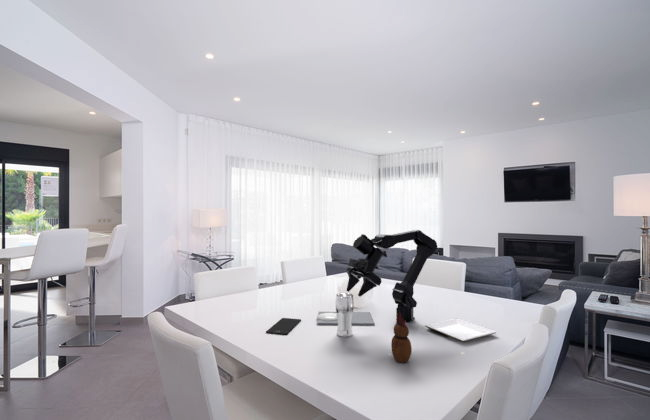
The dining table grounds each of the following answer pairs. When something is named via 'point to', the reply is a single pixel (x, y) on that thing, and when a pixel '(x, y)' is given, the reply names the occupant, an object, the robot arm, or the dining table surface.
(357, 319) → the base plate
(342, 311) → the beer glass
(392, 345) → the wooden figurine
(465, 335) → the plate
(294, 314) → the dining table surface
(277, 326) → the cell phone
